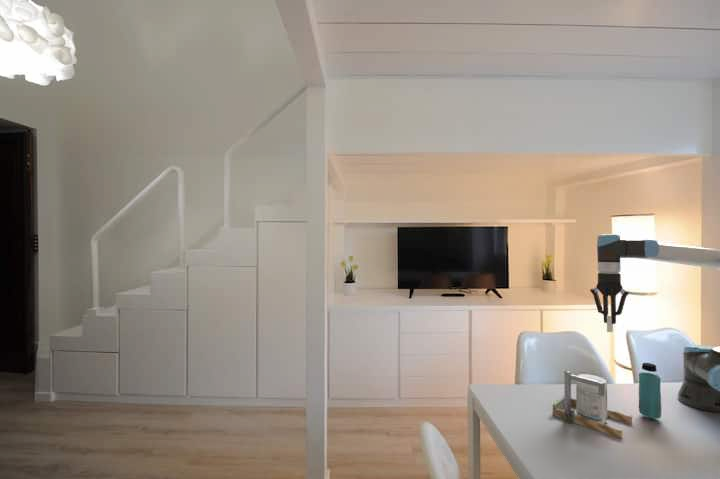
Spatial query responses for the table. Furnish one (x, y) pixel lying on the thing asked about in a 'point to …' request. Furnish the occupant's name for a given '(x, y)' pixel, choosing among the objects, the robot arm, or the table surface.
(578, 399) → the supplement tub
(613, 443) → the table surface
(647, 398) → the beverage bottle
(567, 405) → the hook post
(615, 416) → the bay board
